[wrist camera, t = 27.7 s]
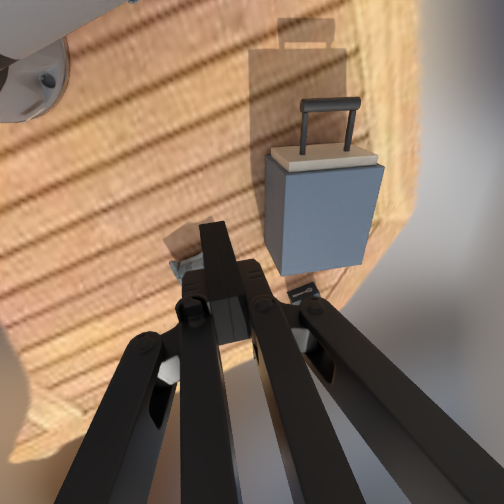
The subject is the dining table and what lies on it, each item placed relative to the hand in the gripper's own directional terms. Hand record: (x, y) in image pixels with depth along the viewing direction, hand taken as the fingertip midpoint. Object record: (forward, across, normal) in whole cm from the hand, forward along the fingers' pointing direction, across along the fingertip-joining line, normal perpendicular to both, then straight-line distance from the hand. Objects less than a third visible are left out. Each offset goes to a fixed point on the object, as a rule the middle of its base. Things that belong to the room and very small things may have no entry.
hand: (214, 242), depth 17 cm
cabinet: (+25, +15, -10) cm, 30 cm away
